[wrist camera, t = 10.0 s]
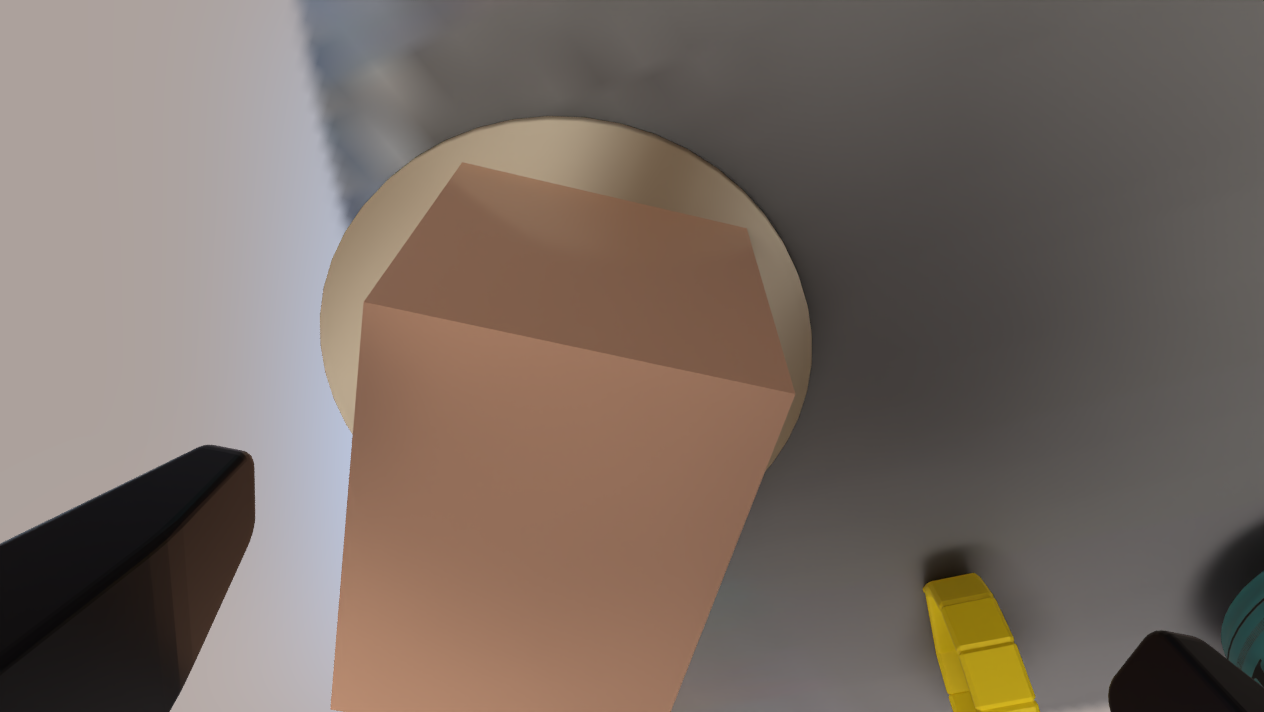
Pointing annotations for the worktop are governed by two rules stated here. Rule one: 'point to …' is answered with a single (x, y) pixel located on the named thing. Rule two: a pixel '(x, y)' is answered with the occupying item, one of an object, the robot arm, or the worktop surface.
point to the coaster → (568, 158)
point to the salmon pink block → (550, 451)
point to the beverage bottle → (1246, 630)
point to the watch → (976, 648)
